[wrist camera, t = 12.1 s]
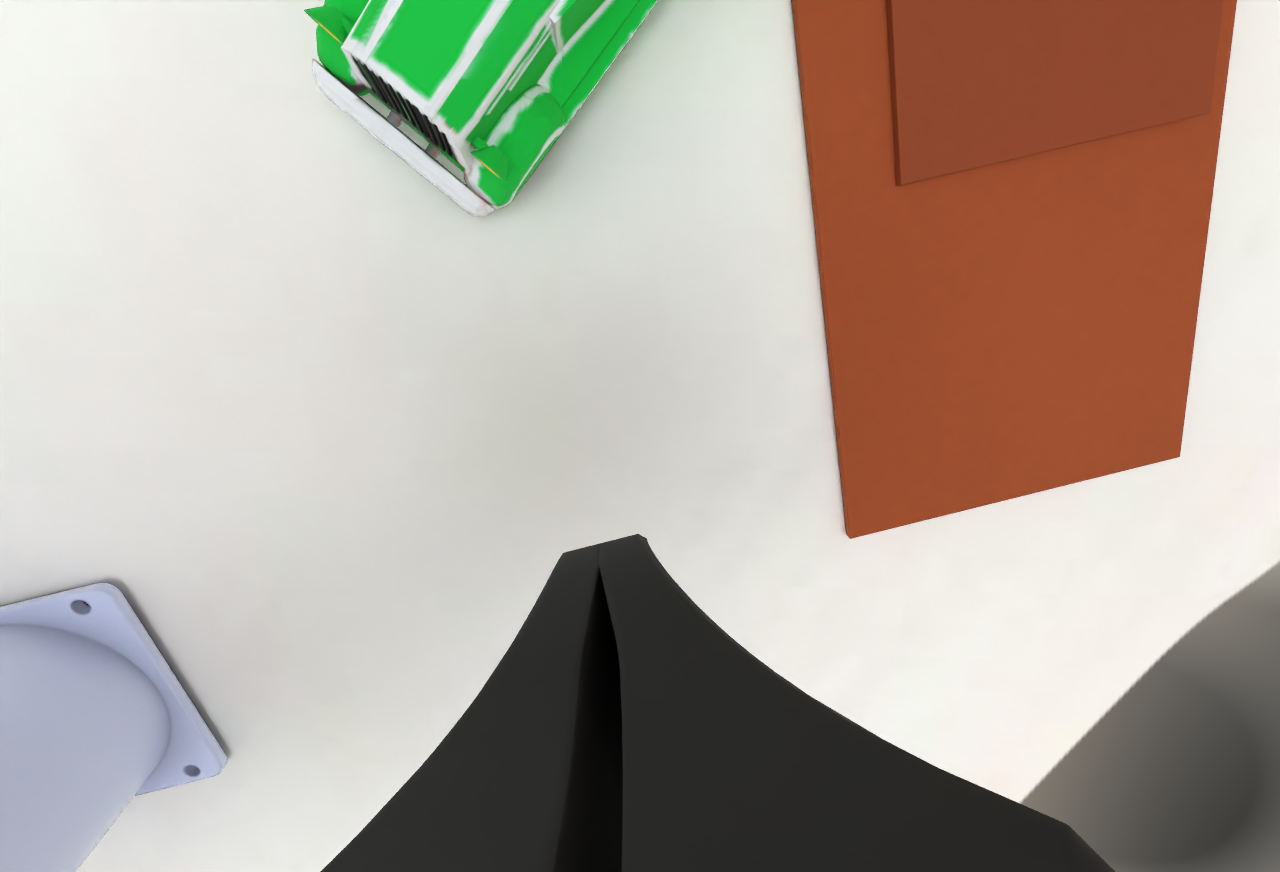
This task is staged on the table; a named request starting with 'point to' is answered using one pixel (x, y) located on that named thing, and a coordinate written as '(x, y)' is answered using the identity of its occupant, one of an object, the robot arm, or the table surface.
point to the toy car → (470, 79)
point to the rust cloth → (1007, 237)
